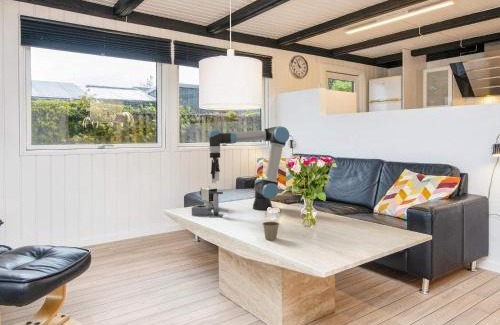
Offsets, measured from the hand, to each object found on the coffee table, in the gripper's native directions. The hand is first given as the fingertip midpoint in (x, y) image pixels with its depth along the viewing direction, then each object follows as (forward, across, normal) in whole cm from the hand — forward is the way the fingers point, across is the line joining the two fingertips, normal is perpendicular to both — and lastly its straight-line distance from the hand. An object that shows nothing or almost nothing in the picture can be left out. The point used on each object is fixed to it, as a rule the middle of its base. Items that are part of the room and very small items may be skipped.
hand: (215, 181), depth 260 cm
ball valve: (+25, -27, -10) cm, 38 cm away
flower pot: (+25, +56, +41) cm, 73 cm away
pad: (+25, 0, 0) cm, 25 cm away
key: (+24, 0, 0) cm, 24 cm away
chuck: (+24, -6, -12) cm, 28 cm away
